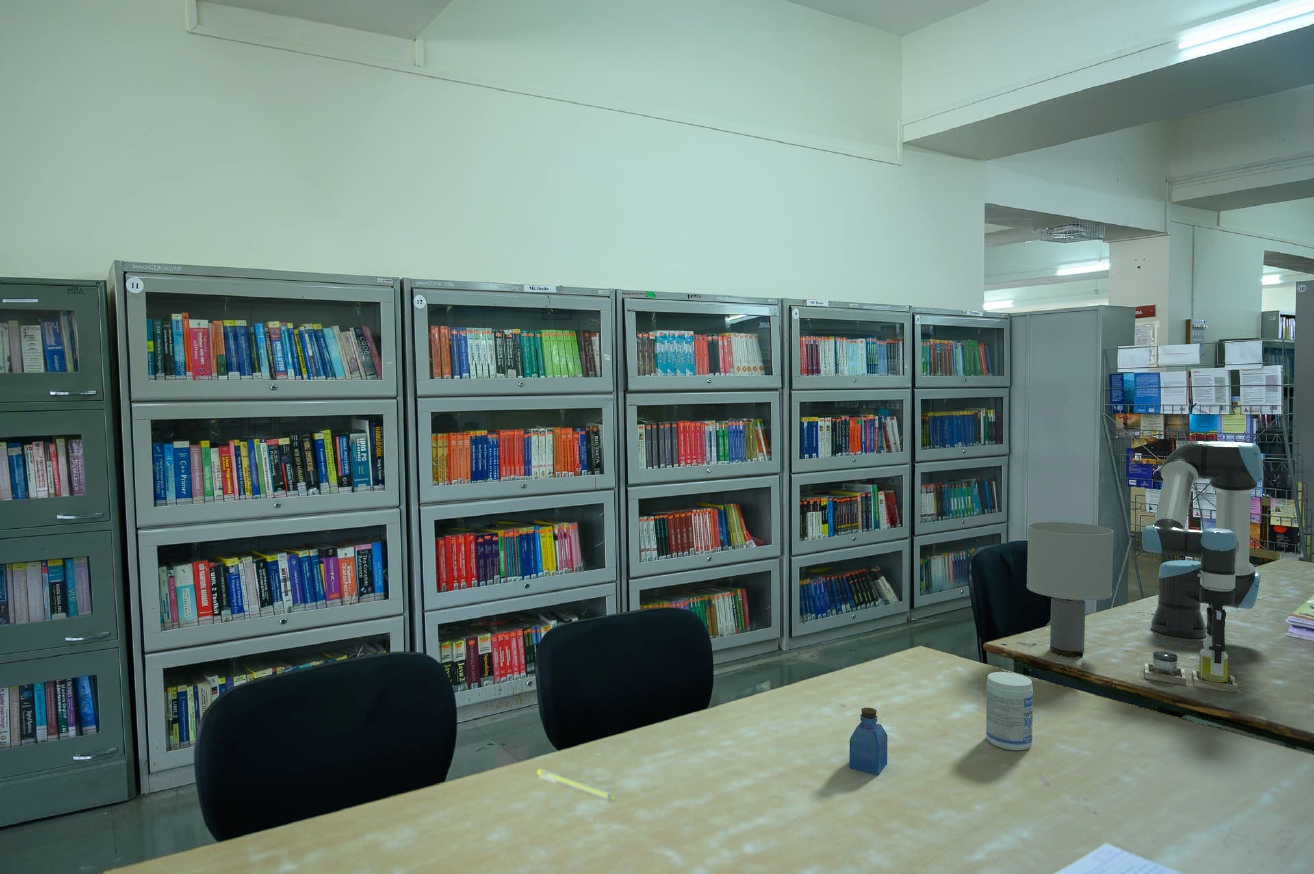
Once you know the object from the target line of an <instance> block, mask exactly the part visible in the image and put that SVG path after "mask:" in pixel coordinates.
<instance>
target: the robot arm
mask: <svg viewBox="0 0 1314 874" xmlns="http://www.w3.org/2000/svg"><path fill="white" fill-rule="evenodd" d="M1263 467H1264V466H1263V460H1262V452H1261V449H1260V447H1259V445H1257V444H1255V443H1250V442H1242V441H1237V442H1235V441H1203V440H1199V441H1198V440H1197V441H1192V442H1188V443H1184V444H1183V445H1181V446H1179V447H1177V448H1176V449H1175V450H1173V451H1172V452H1170V454H1169V455H1168V456H1167V457H1166V458H1165V460H1164V461H1163V463H1162V465H1161V471H1160V476H1161V478H1162V479H1163V480H1162V485H1161V489H1160V493H1159V497H1158V502H1157V503H1158V504H1157V508H1156V513H1155V518H1154V521H1153V525H1145V526H1144V527H1143V529H1142V532H1141V533H1142V536H1141V545H1142V548H1143V550H1144V551H1145V552H1148V553H1154V554H1160V555H1161V554H1162V555H1172V556H1173V555H1175V556H1183V557H1185V556H1186V557H1191V558H1192V557H1193V558H1200V561H1198V560H1191V559H1189V560H1188V559H1186V560H1185V559H1183V560H1169V561H1165V562H1162V563H1161V564H1160V566H1159V569H1158V575H1157V577H1158V593H1157V594H1158V596H1157V597H1158V598H1157V607H1156V610H1155V612H1154V614H1153V617H1152V618H1151V622H1150V624H1151V626H1150V627H1151V630H1153V631H1155V632H1157V633H1160V634H1163V635H1167V636H1170V637H1171V636H1173V637H1179V638H1185V639H1186V638H1187V639H1188V638H1189V639H1196V638H1197V639H1199V638H1200V639H1201V638H1204V637H1206V640H1212V647H1211V646H1209V650H1211V668H1210V674H1212V675H1219V676H1223V673H1224V652H1226V649H1227V648H1226V636H1225V635H1226V629H1225V627H1226V618H1227V611H1226V609H1225V608H1224V607H1227V608H1234V609H1243V610H1244V609H1245V610H1250V609H1253V608H1255V605H1256V602H1257V598H1258V594H1259V590H1260V589H1259V587H1260V583H1261V576H1262V575H1261V573H1259V572H1257V571H1256V568H1255V566H1254V564H1252V563H1251V562H1250V545H1251V544H1250V543H1251V541H1250V537H1251V535H1250V534H1251V498H1252V497H1251V495H1252V494H1251V493H1252V491H1254V490H1256V489H1257V488H1258V483H1262V482H1263V481H1264V470H1263ZM1198 479H1199V480H1200V479H1201V480H1210V481H1209V482H1210V483H1209V484H1210V487H1212V488H1213V489H1214V490H1215V491H1216V493H1215V528H1212V527H1211V528H1205V529H1203V530H1201V529H1200V530H1199V529H1189V528H1186V526H1187V525H1186V524H1187V518H1188V512H1189V508H1190V502H1191V495H1192V490H1193V484H1195V483H1196V481H1197V480H1198ZM1201 604H1204V605H1205V604H1206V605H1208V607H1206V622H1205V620H1204V618H1203V615H1202V612H1201V611H1202V610H1201ZM1205 623H1206V624H1205ZM1219 645H1221V646H1219Z"/></svg>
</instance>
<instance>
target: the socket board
mask: <svg viewBox="0 0 1314 874" xmlns="http://www.w3.org/2000/svg"><path fill="white" fill-rule="evenodd" d="M1140 675H1141V676H1140V677H1141V678H1140V679H1141V680H1146V681H1152V682H1157V683H1165V684H1171V685H1177V686H1182V687H1183V686H1184V687H1190V688H1196V689H1197V688H1198V689H1203V690H1211V691H1215V692H1222V693H1229V694H1236V695H1243V693H1242V691H1241V687H1240V685H1239V683H1238V680H1236V679H1235V676H1234V675H1231V674H1228V684H1223V683H1217V682H1210V681H1203V680H1199V669H1191V673H1186V672H1185V668H1183V667H1178V666H1177V676H1170V675H1164V674H1157V673H1153V663H1148V662H1144V667H1143V666H1140Z"/></svg>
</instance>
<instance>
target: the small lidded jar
mask: <svg viewBox="0 0 1314 874" xmlns="http://www.w3.org/2000/svg"><path fill="white" fill-rule="evenodd" d="M1178 656H1179V655H1177V654H1175V653H1173V652H1169V651H1161V650H1160V651H1159V650H1158V651H1153V652H1152V664H1153V673H1157V674H1164V675H1170V676H1177V667H1178V659H1179V657H1178Z"/></svg>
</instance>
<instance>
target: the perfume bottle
mask: <svg viewBox="0 0 1314 874" xmlns="http://www.w3.org/2000/svg"><path fill="white" fill-rule="evenodd" d="M860 711H861V714H860V722H859V724H858V725H857V726H856V727H855V729H854V731H853V733H852V734H851V736H850V738H849V749H848V750H849V754H848V755H849V763H848V764H849V765H848V766H849V769H852V770H855V771H858V772H862V773H867V774H871V775H874V776H878V777H879V775H881V773H882V772H883V770H884V769H885V767H886V766H887V764H888V734H887V732H886V731H885V728H884V727H883V726H882V723H881V724H880V723H878V715H877V709H875V708H873V707H862V708H861V710H860Z"/></svg>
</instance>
